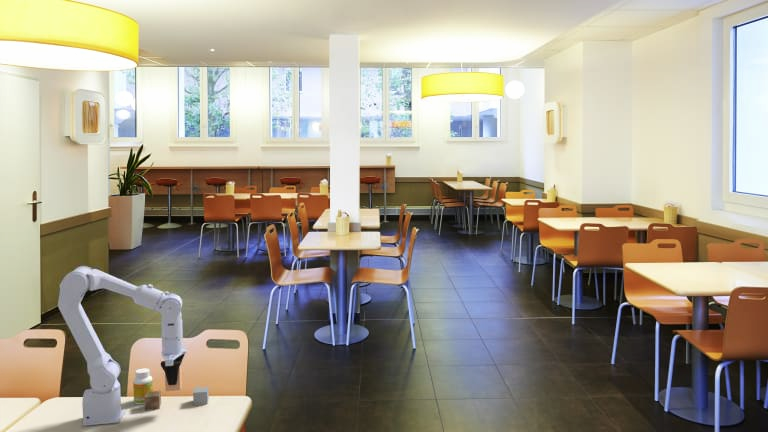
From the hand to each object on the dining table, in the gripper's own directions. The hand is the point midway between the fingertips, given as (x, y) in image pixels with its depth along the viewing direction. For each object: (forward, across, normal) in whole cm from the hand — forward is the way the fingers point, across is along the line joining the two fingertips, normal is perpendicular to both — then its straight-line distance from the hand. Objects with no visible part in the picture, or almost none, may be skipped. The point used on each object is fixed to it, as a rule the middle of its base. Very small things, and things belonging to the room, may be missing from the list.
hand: (173, 381), depth 163 cm
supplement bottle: (+9, +9, +10) cm, 17 cm away
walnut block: (+9, +5, +7) cm, 12 cm away
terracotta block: (+2, 0, 0) cm, 2 cm away
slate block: (+9, +5, -7) cm, 12 cm away
